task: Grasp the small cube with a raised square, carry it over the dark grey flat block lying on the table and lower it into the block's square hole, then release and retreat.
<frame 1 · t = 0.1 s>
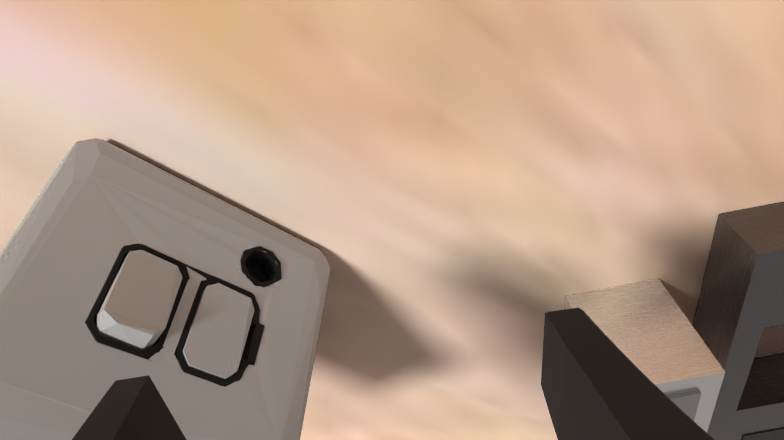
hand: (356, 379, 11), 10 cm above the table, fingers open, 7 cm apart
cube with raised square: (608, 318, 25), on the table
dark grey flat block: (766, 346, 28), on the table
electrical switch: (193, 245, 21), on the table
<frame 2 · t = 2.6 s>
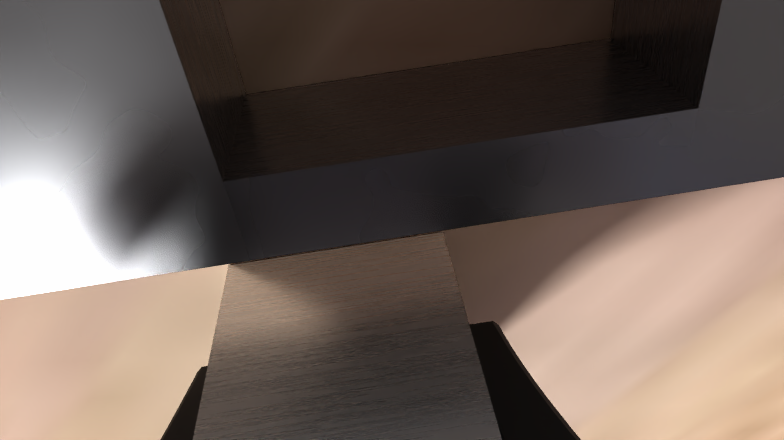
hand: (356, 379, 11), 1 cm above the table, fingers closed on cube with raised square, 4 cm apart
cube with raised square: (353, 323, 12), on the table, touching gripper
when the fingers open (3 cm above the table, at t = 5.7 s): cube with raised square stays where it is, resting in dark grey flat block.
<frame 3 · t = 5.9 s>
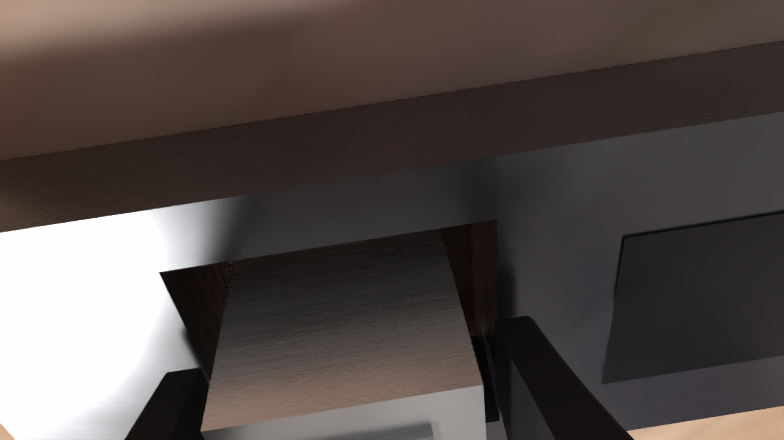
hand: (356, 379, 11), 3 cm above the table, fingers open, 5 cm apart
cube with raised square: (351, 276, 13), resting in dark grey flat block
dark grey flat block: (436, 259, 13), on the table
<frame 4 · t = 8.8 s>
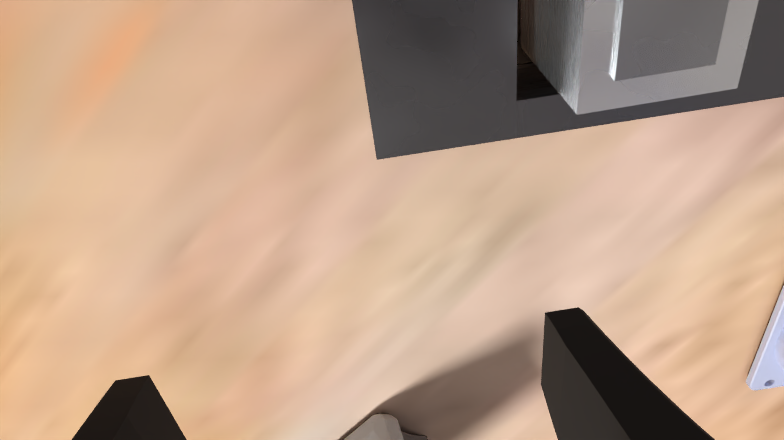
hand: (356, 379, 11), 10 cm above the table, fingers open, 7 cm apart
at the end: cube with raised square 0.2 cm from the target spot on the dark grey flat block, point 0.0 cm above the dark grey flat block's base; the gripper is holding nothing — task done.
